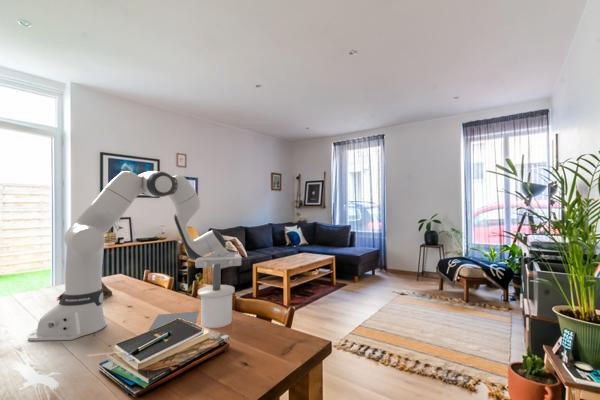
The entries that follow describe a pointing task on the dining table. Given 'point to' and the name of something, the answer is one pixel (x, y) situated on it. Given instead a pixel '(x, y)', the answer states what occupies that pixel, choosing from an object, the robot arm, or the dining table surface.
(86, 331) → the robot arm
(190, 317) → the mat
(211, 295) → the lid
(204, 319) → the cup
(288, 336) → the dining table surface
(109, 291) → the worn brown figurine
